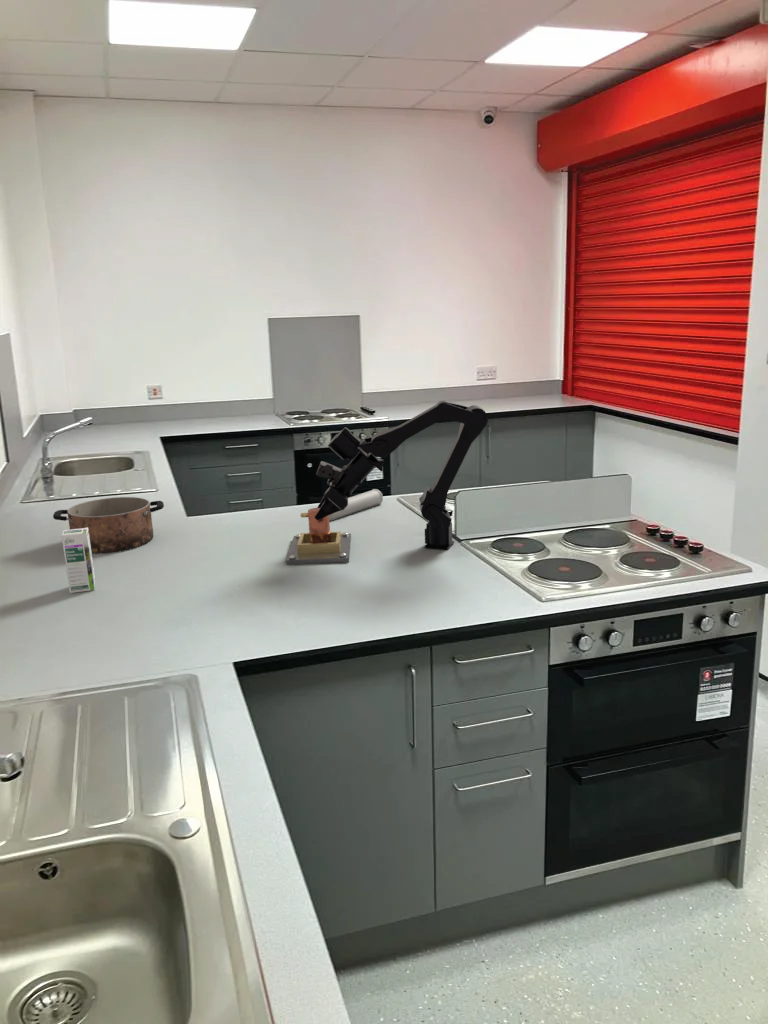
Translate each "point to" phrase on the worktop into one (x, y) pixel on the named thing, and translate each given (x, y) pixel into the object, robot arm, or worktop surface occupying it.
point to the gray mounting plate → (319, 549)
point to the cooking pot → (113, 522)
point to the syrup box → (78, 560)
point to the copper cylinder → (318, 527)
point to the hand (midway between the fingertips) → (316, 514)
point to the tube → (359, 503)
